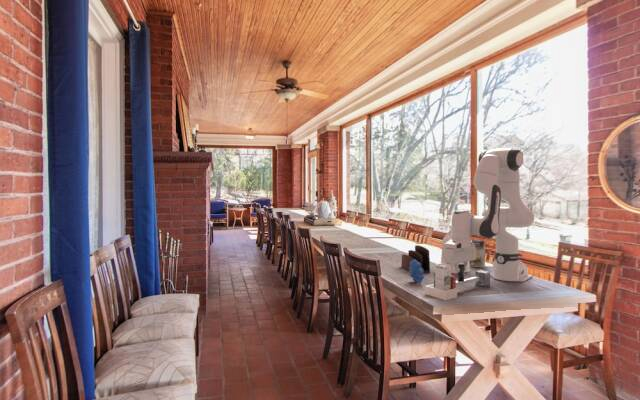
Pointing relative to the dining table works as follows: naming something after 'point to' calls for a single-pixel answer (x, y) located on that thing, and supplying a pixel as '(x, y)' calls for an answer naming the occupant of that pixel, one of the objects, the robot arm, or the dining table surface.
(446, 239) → the milk
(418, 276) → the grapes
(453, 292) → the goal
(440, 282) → the syrup box
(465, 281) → the linear slider rail
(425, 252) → the letter holder
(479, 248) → the coffee box
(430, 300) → the dining table surface
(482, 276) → the grey hollow block
